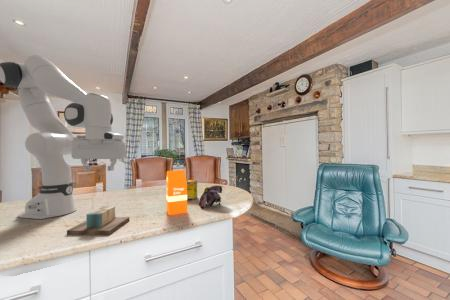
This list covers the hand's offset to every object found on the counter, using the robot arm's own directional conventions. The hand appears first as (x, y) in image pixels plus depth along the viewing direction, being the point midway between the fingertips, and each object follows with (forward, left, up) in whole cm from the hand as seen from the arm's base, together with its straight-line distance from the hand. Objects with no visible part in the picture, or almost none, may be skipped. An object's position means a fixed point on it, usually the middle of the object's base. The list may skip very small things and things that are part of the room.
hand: (99, 170), depth 81 cm
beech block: (0, +6, -19) cm, 19 cm away
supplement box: (+27, +43, -23) cm, 56 cm away
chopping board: (0, 0, -23) cm, 23 cm away
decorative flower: (+41, +29, -23) cm, 55 cm away
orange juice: (+25, +19, -23) cm, 39 cm away
